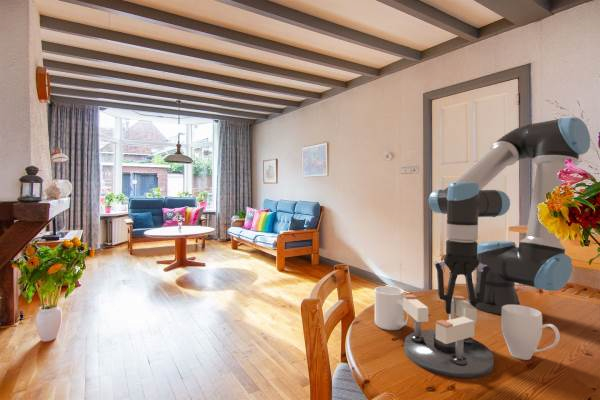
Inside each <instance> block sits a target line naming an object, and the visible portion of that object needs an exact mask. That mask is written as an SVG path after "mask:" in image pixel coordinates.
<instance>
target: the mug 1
mask: <svg viewBox="0 0 600 400" xmlns="http://www.w3.org/2000/svg"><path fill="white" fill-rule="evenodd" d="M403 295H405V291H404V289H402V288H400V287H395V286H392V285H391V286H390V285H380V286H377V287H375V288H374V324H375V326H377V327H378V328H379V329H382V330H386V331H397V330H400V329H403V327H405V326H407V324H408V322H409V320H410V319H409V318H410V315H409V314H408V313H407V312H406V311H405V310H404V309H403ZM405 312H406V315H407V317H406V320H404V319H405V317H404V316H405Z"/></svg>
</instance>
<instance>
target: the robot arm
mask: <svg viewBox="0 0 600 400" xmlns="http://www.w3.org/2000/svg"><path fill="white" fill-rule="evenodd" d="M590 147H591V135H590V131H589V129H588V127H587V124H586V123H585V122H584V121H583V120H582V119H581V118H579V117H575V116H571V117H565V118H564V117H560V118H557V119H552V120H551V119H550V120H547V121H541V122H536V123H529V124H528V123H527V124H524V125H520V126H519V127H516V128H514V129H513V130H510V131H509V132H508V133H506V134H504V135H503V136H501V137H500V138H499V139H497V140H496V141H495V142H494V143H492V144H491V146H490V149H489V151H488V152H486V153H485V154H484V155H482V157H481V158H479V160H478V161H476V162H475V163H474V164H473V165H471V166H470V167H469V168H468V169H467V170H465V171H464V173H462V174H461V175H460V176H459V177H457V178H456V179H455V180H454V181H453V182H451V183H449V184H448V186H447V187H446V188H445V189H436V190H433V191H432V192H431V193H430V195H429V197H428V206H429V208H430V210H431V211H433V212H434V213H437V214H443V215H445V214H446V238H447V239H446V243H445V256H444V258H443V260H440V261H434V262H433V263H434V267H435V269H436V277H437V291H438V292H437V294H438V297H439V300H441V301H442V300H443V301H444V304H445V309H444V310H445V312H446V314H448V320H451V319H455V313H454V302H453V301H452V297H453V296H454V291H455V286H456V282H457V279H458V276H460V275H462V276H464V277H465V283H466V284H465V285H466V291H467V298H468V301H467V302H468V303H470V304H471V305H472V306H473V307H475V308H476V309H477V310H481V311H484V312H486V313H491V314H498V315H501V312H502V307H503V306H504V305H521V302H520V299H519V296H518V294H517V291H516V286H515V284H519V285H523V286H527V287H532V288H535V289H537V290H544V291H549V292H556V291H559V290H561V289H563V288H564V287H565V286H566V285H567V283H568V282H569V281H570V278H571V276H572V272H573V264H572V263H573V260H572V258H571V257H570V256H569V255H568V254H566V253H565V252H566V247H564V246H563V245H562V243H561V238H560V239H558V238H557V237H556V236H555V234H553V233H549V232H548V229H547V228H546V227H544V226H543V225H542V224H541V223H540V222H539V220H538V215H537V213H538V208H537V205H538V204H539V203H542V202H545V201H546V198H545V194H546V193H548V192H552V191H553V189H554V188H555V187H556V186H559V185H561V184H562V183H563V181H561V180H559V179H558V178H557V173H558V171H559V170H563V169H565V168H566V166H565V165H564V162H565V160H566V159H568V158H572V159H573V166H575V165H576V164H577V163H579V157H580V155H581V156H582V155H584V154H586V153H588V151H589V149H590ZM525 159H531V161H532V162H533V163H534V164H535V165H536V170H535V177H534V183H533V190H532V197H531V202H530V203H531V204H530V208H529V215H528V222H527V228H526V235H525V237H524V238H523V239H521V240H520V241H519V244H518V246H517V244H516V242H515V241H509V240H501V241H500V240H499V241H498V240H496V241H494V240H492V241H481V242H479V243H478V242H477V241H478V239H479V238H478V237H479V235H478V233H479V218H488V217H489V218H496V217H501V216H503V215H505V214H506V213H507V212H508V211H509V209H510V206H511V199H510V197H509V196H508V195H507V193H506V192H504V191H502V190H497V189H484V188H485V187H486V186H487V185H488V184H489V183H490V182H491V181H492V180H494V179H495V178H496V177H497V176H498V175H499V174H500V173H501V172H502V171H503V170H504V169H506V168H507V167H509V166H512V165H514V164H516V163H517V162H518V161H521V160H522V161H523V160H525ZM445 266H446V267H447V268H448V269H449V271H450V272H449V277H448V284H447V288H446V291H445V286H444V285H445V283H444V272H443V270H444V269H445ZM474 271H476V272H475V273H476V275H475V278H476V279H475V284H474V282H473V275H472V274H473V272H474ZM445 292H446V293H445Z"/></svg>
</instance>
